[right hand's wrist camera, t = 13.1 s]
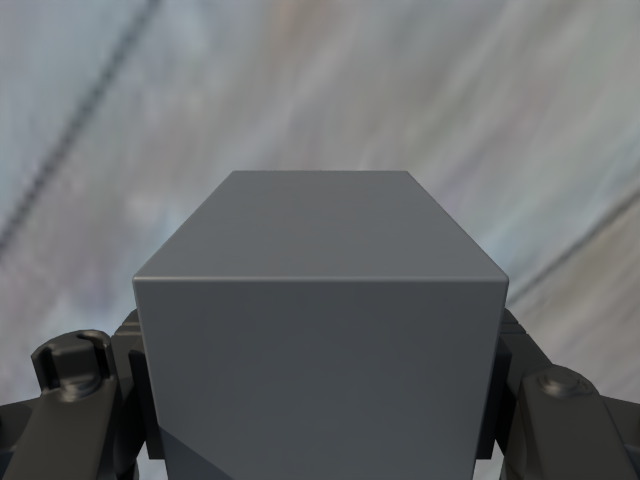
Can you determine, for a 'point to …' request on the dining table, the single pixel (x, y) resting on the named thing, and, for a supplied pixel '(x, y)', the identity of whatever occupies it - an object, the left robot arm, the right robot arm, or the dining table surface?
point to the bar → (320, 332)
